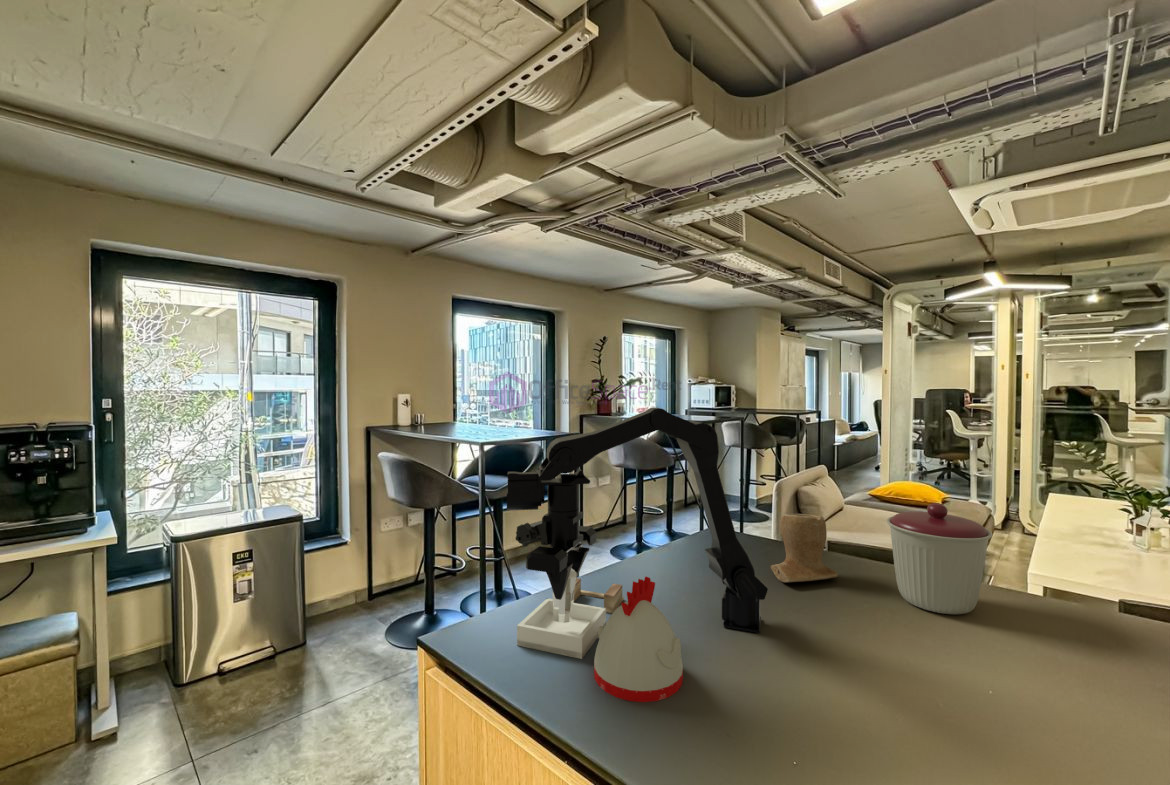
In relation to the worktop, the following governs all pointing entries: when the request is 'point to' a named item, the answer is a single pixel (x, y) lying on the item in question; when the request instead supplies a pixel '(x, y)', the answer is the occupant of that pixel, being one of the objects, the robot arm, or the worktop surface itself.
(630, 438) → the robot arm
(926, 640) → the worktop surface
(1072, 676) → the worktop surface
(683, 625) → the worktop surface
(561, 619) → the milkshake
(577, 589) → the wooden joined piece
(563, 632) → the tray
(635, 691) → the kitchen timer
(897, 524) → the canister
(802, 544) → the tan flared pedestal
